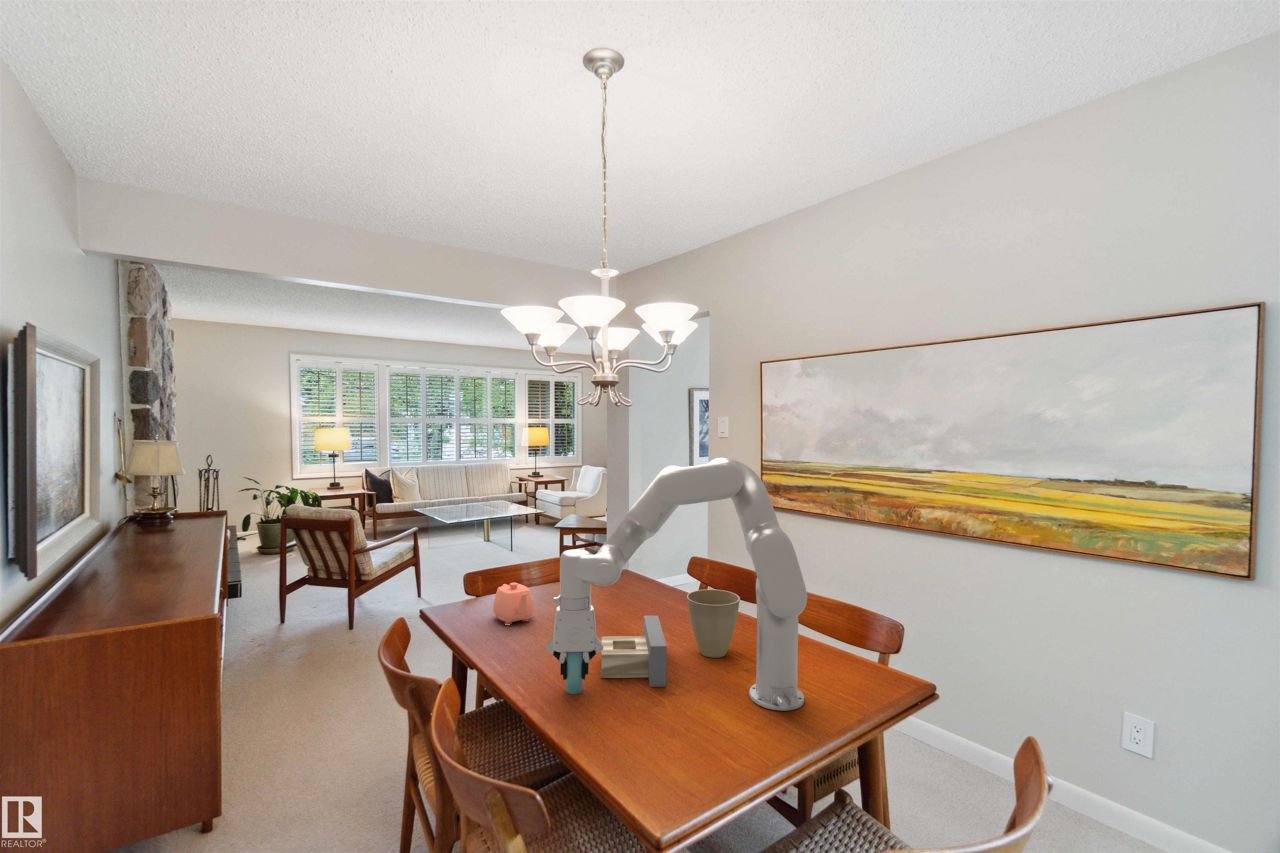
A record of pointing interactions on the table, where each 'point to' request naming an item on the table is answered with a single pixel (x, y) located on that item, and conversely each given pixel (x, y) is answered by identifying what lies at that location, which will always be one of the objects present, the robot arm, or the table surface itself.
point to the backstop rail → (655, 651)
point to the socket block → (624, 657)
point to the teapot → (513, 603)
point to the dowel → (574, 672)
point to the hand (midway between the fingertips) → (574, 676)
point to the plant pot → (713, 619)
